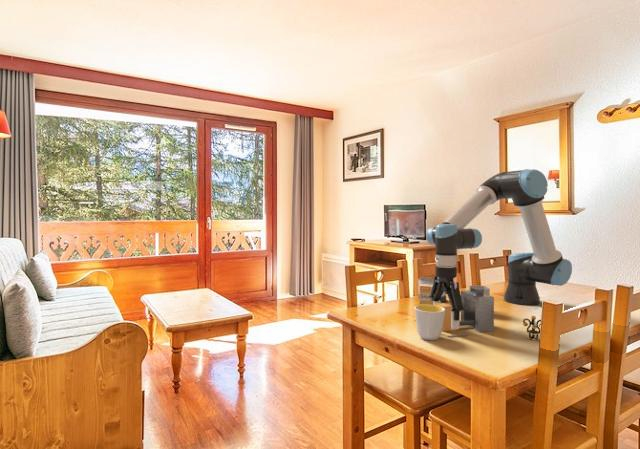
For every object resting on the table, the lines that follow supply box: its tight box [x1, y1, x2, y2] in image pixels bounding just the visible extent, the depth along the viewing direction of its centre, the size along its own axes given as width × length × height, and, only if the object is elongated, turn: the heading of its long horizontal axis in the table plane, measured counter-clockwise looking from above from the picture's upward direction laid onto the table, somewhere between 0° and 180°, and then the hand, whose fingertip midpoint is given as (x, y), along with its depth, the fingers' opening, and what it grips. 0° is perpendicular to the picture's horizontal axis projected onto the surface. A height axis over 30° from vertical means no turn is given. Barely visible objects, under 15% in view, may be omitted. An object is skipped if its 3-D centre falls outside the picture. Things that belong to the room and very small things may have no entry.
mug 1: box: [413, 304, 445, 341], centre depth 133 cm, size 14×10×10 cm
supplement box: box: [418, 284, 440, 305], centre depth 157 cm, size 8×5×13 cm, turn 70°
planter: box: [417, 276, 447, 303], centre depth 183 cm, size 13×13×10 cm
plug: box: [435, 302, 475, 332], centre depth 142 cm, size 21×5×9 cm, turn 100°
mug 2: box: [467, 284, 491, 296], centre depth 163 cm, size 12×8×11 cm
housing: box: [460, 287, 495, 333], centre depth 143 cm, size 6×12×14 cm, turn 10°
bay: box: [447, 334, 468, 338], centre depth 141 cm, size 7×18×1 cm, turn 10°
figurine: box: [522, 315, 542, 342], centre depth 129 cm, size 5×5×8 cm
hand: (445, 323), depth 141 cm, fingers open, 13 cm apart
